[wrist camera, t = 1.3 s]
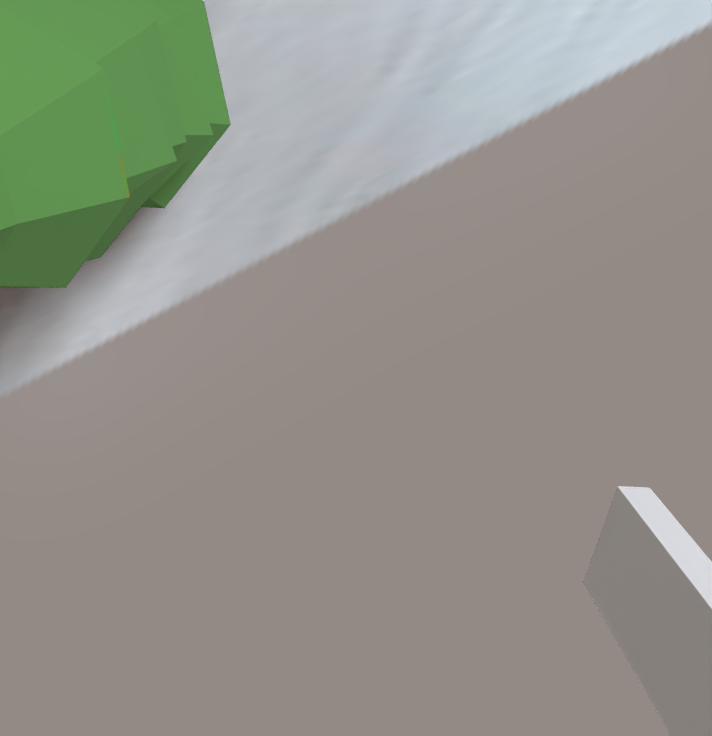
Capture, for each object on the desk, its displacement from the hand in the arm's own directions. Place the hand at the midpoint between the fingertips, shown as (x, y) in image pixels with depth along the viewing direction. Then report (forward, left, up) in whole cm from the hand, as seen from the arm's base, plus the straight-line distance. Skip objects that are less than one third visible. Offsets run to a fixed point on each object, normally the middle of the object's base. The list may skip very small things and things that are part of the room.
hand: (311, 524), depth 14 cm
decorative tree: (-9, -6, -26) cm, 28 cm away
